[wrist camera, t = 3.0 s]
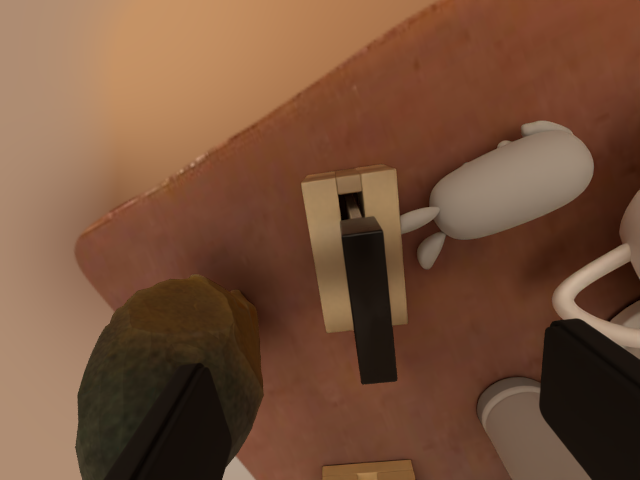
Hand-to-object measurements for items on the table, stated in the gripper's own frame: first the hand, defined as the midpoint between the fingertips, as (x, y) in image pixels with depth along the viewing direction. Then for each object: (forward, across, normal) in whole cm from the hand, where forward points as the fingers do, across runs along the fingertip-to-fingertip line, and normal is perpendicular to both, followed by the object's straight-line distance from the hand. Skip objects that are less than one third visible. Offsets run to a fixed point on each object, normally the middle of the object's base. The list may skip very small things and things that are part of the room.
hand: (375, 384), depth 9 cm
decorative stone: (+15, +9, +4) cm, 18 cm away
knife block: (+15, -1, 0) cm, 15 cm away
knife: (+15, -1, 0) cm, 15 cm away
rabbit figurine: (+15, -9, -1) cm, 17 cm away
